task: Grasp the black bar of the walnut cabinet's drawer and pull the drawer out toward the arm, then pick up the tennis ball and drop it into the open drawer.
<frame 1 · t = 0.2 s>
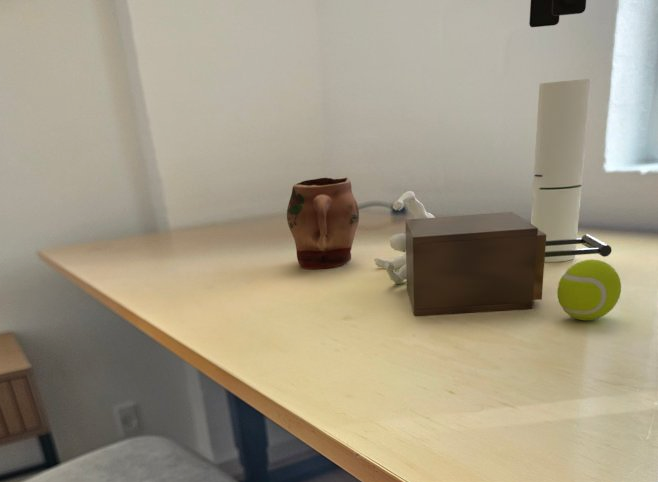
hand: (555, 20, 70), 30 cm above the table, tool pointing down, fingers open, 9 cm apart
cabinet: (464, 297, 88), on the table
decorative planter: (326, 266, 115), on the table
tennis ball: (585, 320, 76), on the table
cylindrical container: (551, 258, 106), on the table
person figurine: (418, 275, 103), on the table
drawer: (512, 258, 86), point 5 cm above the table, slide at 0.0 cm
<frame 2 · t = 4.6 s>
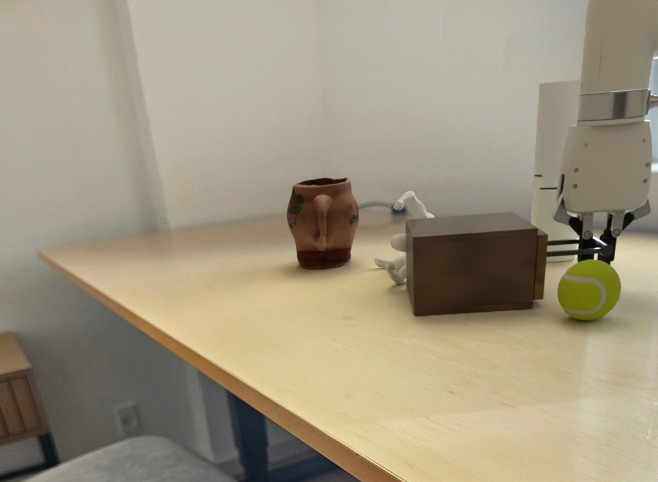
hand: (594, 267, 86), 3 cm above the table, tool pointing down, fingers closed
drawer: (514, 258, 86), point 5 cm above the table, slide at 0.2 cm, touching gripper
everything else where it was.
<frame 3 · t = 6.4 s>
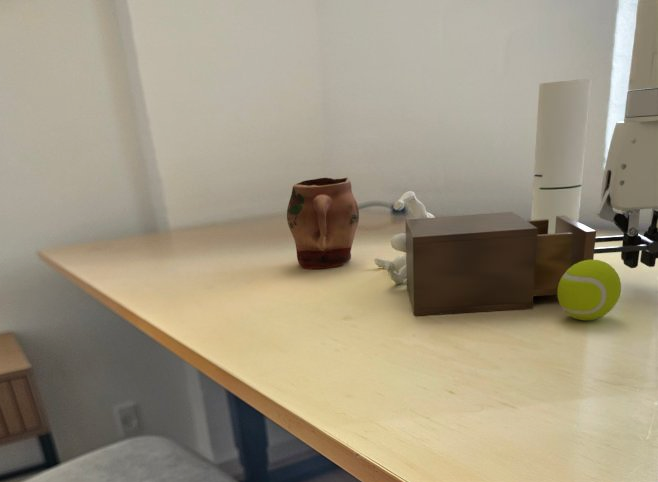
hand: (638, 264, 85), 3 cm above the table, tool pointing down, fingers closed
drawer: (557, 255, 85), point 5 cm above the table, slide at 5.8 cm, touching gripper
everything else where it was.
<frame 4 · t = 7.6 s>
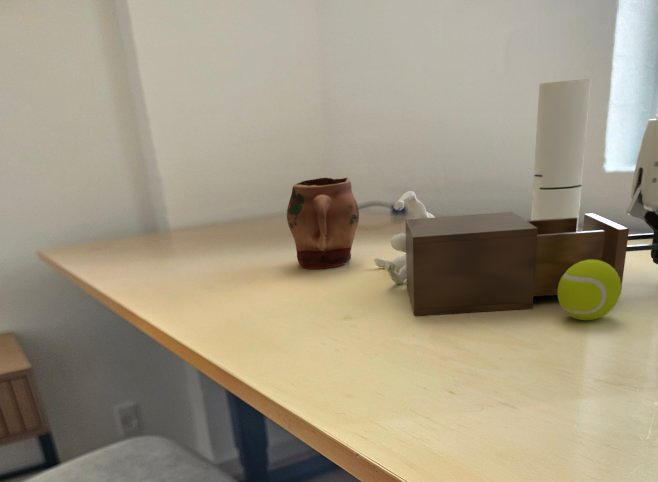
drawer: (587, 253, 85), point 5 cm above the table, slide at 9.5 cm, touching gripper
everything else where it was.
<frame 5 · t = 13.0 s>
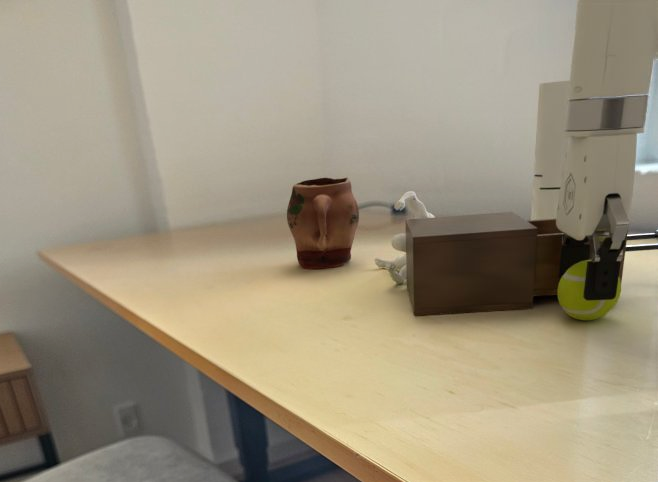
hand: (584, 288, 74), 4 cm above the table, tool pointing down, fingers open, 9 cm apart
nothing on the table moved.
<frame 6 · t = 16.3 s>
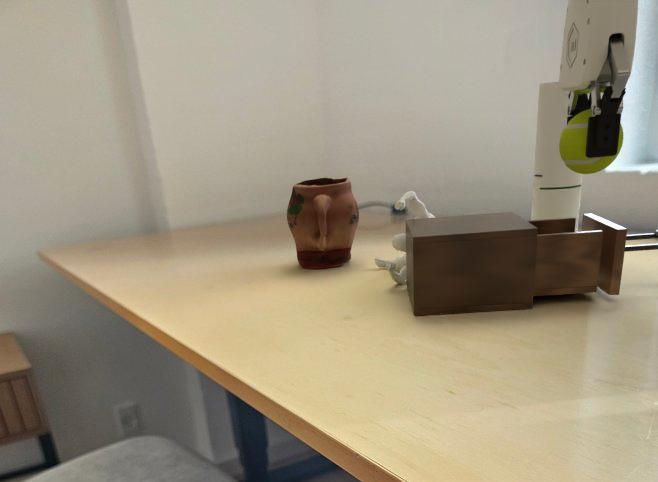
hand: (589, 153, 74), 17 cm above the table, tool pointing down, fingers closed on tennis ball, 6 cm apart
tennis ball: (587, 175, 75), point 15 cm above the table, touching gripper
drawer: (585, 253, 85), point 5 cm above the table, slide at 9.3 cm
everything else where it was.
when the fingers open (11 cm above the table, at t = 19.1 s): tennis ball drops 7 cm, resting on drawer.
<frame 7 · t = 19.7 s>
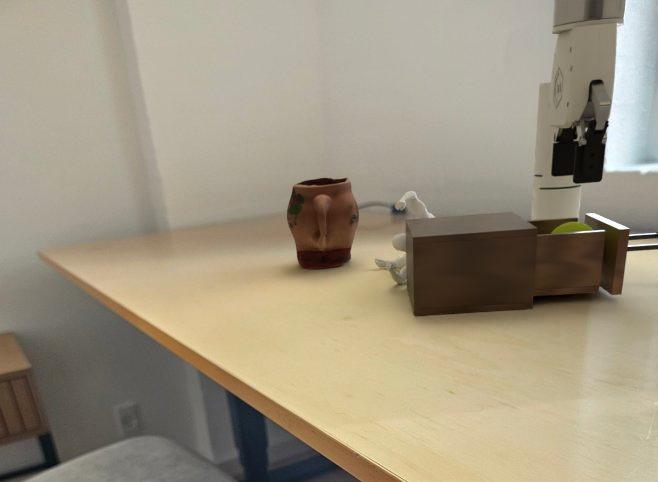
hand: (574, 178, 81), 14 cm above the table, tool pointing down, fingers open, 9 cm apart
tennis ball: (570, 276, 86), point 2 cm above the table, touching drawer
drawer: (588, 253, 85), point 5 cm above the table, slide at 9.6 cm, touching tennis ball
everything else where it was.
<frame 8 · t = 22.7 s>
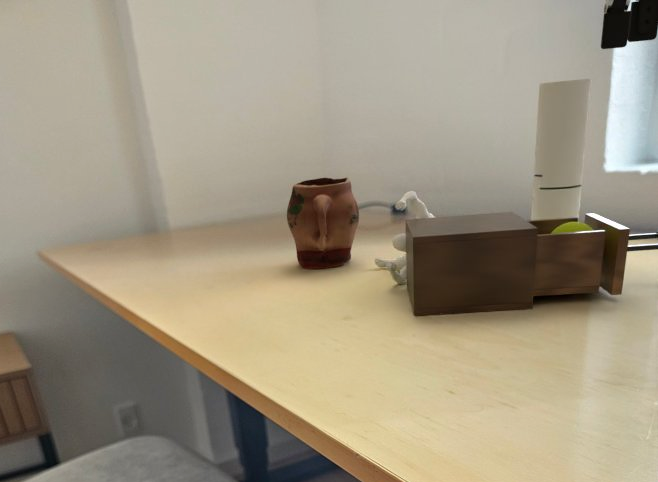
hand: (626, 44, 83), 28 cm above the table, tool pointing down, fingers open, 9 cm apart
nothing on the table moved.
at the end: drawer slide at 9.6 cm; tennis ball inside the target area in the drawer (2.7 cm from its centre), point 1.9 cm above the cabinet's base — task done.
